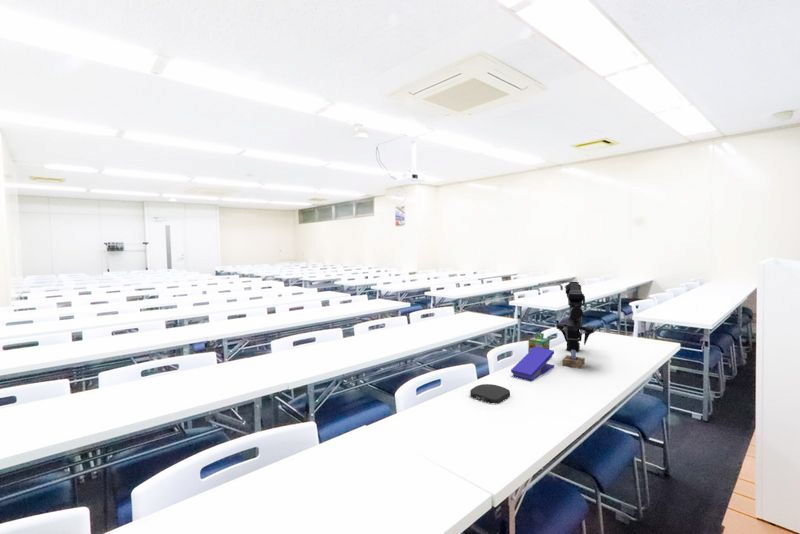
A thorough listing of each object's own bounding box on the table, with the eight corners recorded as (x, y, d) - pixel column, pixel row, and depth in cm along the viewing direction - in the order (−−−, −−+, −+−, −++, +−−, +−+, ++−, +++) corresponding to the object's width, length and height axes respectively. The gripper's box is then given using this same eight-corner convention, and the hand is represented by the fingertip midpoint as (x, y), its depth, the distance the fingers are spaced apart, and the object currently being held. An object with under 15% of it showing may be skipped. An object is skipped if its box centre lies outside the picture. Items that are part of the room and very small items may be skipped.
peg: (570, 365, 209) (570, 350, 208) (571, 364, 211) (571, 349, 210) (575, 366, 207) (575, 351, 207) (576, 364, 209) (576, 350, 209)
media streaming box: (513, 395, 171) (513, 389, 171) (496, 406, 161) (496, 399, 161) (484, 387, 181) (484, 381, 181) (466, 397, 171) (466, 390, 171)
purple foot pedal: (555, 367, 207) (555, 349, 206) (532, 382, 186) (532, 362, 186) (534, 363, 214) (534, 346, 214) (510, 377, 194) (510, 358, 193)
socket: (562, 365, 208) (562, 359, 208) (567, 361, 215) (567, 355, 215) (580, 368, 203) (580, 362, 203) (584, 364, 210) (584, 357, 210)
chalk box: (527, 359, 221) (527, 333, 220) (534, 355, 228) (534, 330, 227) (543, 362, 215) (543, 336, 214) (549, 358, 222) (549, 332, 221)
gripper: (553, 315, 208) (553, 343, 209) (590, 319, 196) (590, 349, 197) (559, 312, 217) (559, 339, 218) (596, 315, 205) (595, 344, 206)
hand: (575, 343), depth 210 cm, fingers open, 9 cm apart
